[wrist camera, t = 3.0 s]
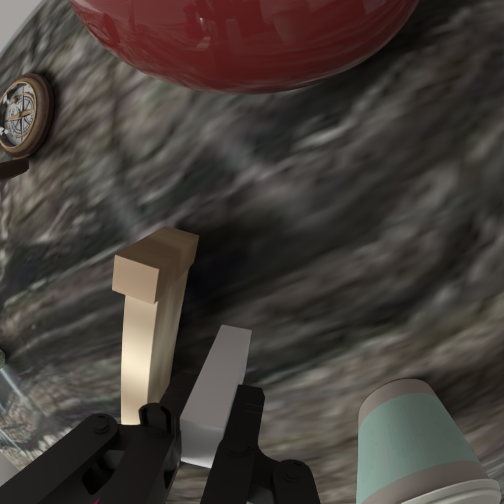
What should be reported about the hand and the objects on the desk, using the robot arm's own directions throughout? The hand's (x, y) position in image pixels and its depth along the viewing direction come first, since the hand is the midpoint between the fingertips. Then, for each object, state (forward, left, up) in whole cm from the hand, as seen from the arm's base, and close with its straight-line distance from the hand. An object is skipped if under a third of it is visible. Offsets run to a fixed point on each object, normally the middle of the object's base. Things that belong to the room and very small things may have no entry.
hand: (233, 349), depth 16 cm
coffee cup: (-1, -13, -4) cm, 14 cm away
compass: (+3, +21, -4) cm, 21 cm away
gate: (-6, +3, -3) cm, 7 cm away
